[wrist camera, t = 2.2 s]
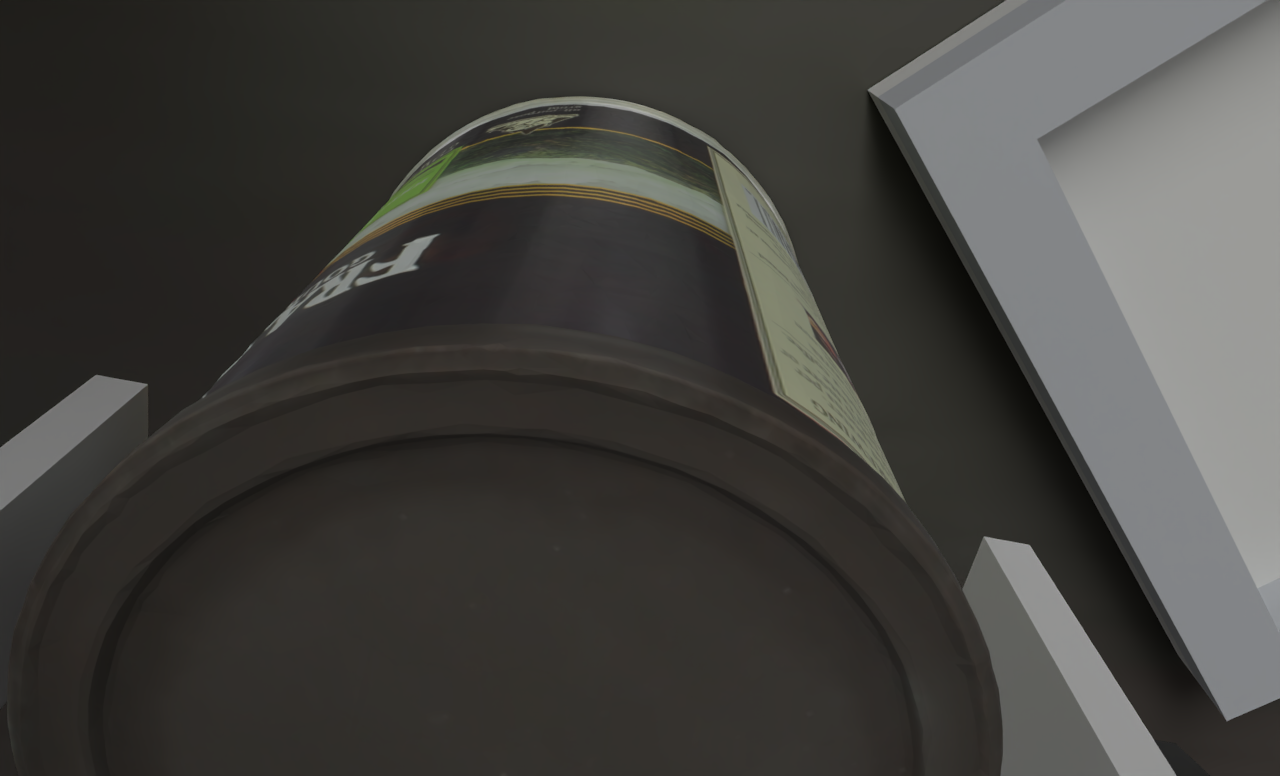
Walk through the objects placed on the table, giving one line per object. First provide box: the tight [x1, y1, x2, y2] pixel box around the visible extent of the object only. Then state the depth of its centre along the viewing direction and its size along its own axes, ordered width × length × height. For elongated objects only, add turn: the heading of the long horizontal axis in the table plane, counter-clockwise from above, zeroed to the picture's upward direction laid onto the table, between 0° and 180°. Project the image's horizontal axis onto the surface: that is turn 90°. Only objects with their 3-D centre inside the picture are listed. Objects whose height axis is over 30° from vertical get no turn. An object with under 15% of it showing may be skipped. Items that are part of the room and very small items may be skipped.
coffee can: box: [7, 96, 1003, 776], centre depth 17 cm, size 10×10×14 cm
